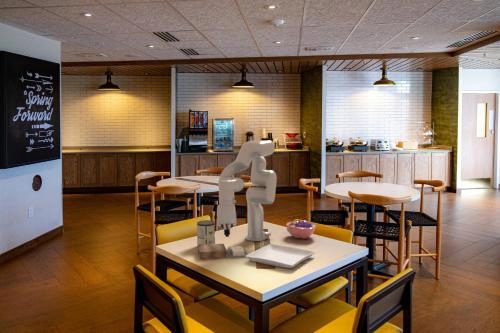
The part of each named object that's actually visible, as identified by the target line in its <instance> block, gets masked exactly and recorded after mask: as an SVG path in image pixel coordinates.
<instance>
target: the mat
mask: <svg viewBox="0 0 500 333" xmlns="http://www.w3.org/2000/svg"><path fill="white" fill-rule="evenodd" d="M226 250H227V259H245V258H246V259H248V258H247V257H245V256H246V255H248V254H249V253H248V251H247V250H246V248H243V250H244V256H233V255H232V252H231V248H230V249H226Z"/></svg>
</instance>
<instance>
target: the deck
mask: <svg viewBox="0 0 500 333" xmlns="http://www.w3.org/2000/svg"><path fill="white" fill-rule="evenodd" d="M197 250H198V257H199V261H200V260H201V261H203V260H204V261H205V260H218V259H219V260H223V259H228V255H227V250H228V249H226V246H225V243H215V244H204V245H198V247H197Z"/></svg>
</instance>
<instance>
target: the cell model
mask: <svg viewBox="0 0 500 333" xmlns="http://www.w3.org/2000/svg"><path fill="white" fill-rule="evenodd" d="M285 225H286V231H287V232H288V233H289V234H290V236H292V237H294V238H295V239H301V240H303V239H304V240H307V239H309V238H310V237H311V236H312V235H313V234H314V232H315V230H316V227H317V224H315V223H313V222H308V221H307V220H300V219H298V220H297V221H296V220H292V221H289V222H287V223H286V224H285Z"/></svg>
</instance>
